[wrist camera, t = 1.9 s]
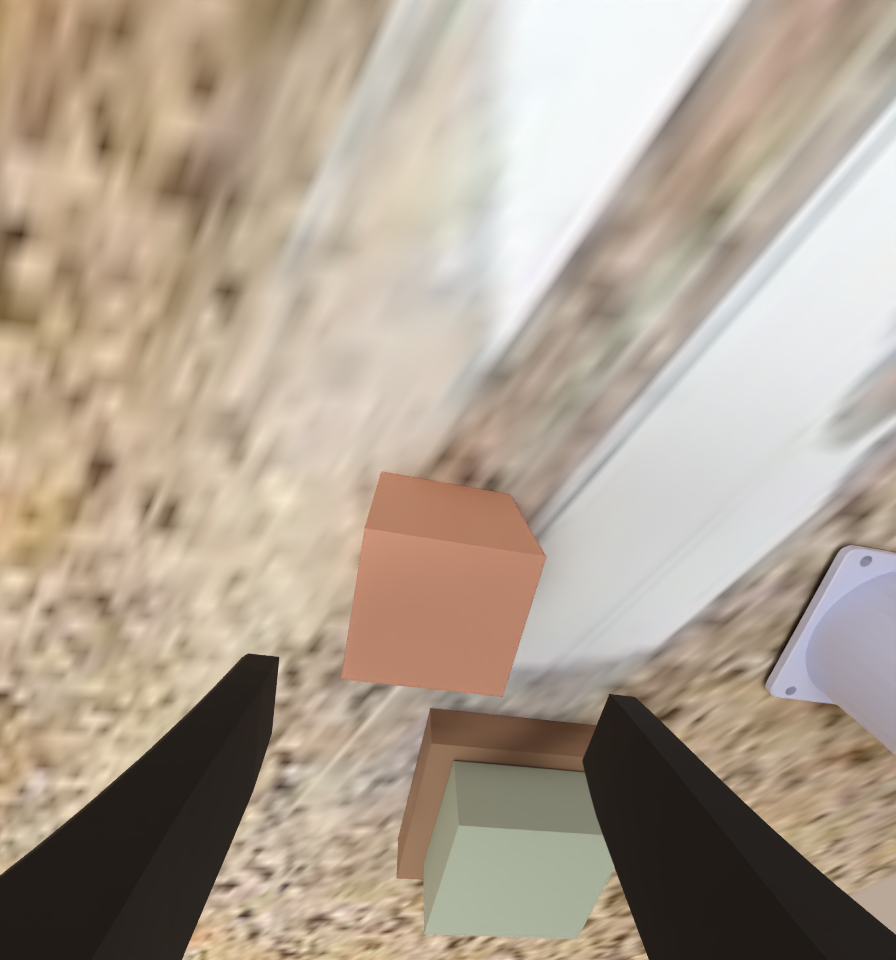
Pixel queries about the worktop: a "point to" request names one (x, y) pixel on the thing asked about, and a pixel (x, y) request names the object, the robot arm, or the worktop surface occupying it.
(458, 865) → the sage block
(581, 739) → the walnut block
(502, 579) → the terracotta block
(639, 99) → the worktop surface
